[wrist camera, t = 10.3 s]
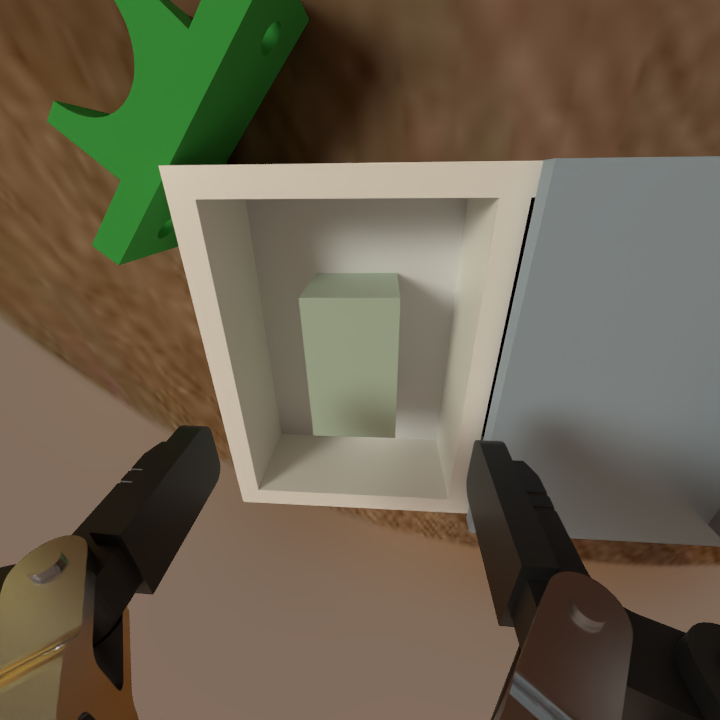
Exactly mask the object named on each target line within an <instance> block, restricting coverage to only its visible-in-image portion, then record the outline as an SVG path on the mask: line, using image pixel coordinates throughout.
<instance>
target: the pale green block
mask: <svg viewBox="0 0 720 720" xmlns="http://www.w3.org/2000/svg"><path fill="white" fill-rule="evenodd" d="M298 299H299V308H300V317H301V326H302V335H303V344H304V353H305V362H306V371H307V380H308V389H309V398H310V407H311V416H312V425H313V434H314V436H345V437H380V438H395V429H396V403H397V376H398V350H399V323H400V291H399V283H398V275H397V273H317V274H316V275H315V276H314V278H313V279H312V280H311V282H310V283H309V284H308V286H307V287H306V288H305V290H304V291H303V292H302V294H301V295H300V296H299V298H298Z"/></svg>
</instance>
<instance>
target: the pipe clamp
mask: <svg viewBox="0 0 720 720" xmlns="http://www.w3.org/2000/svg"><path fill="white" fill-rule="evenodd" d="M114 1H115V2H116V4H117V6H118V8H119V10H120V12H121V13H122V15H123V18H124V20H125V23H126V25H127V28H128V31H129V34H130V37H131V41H132V46H133V51H134V62H135V71H134V80H133V85H132V88H131V91H130V94H129V96H128V98H127V100H126V101H125V103H124V104H123V105H122V106H121V107H120V108H119V109H118V110H117V111H116V112H114V113H112V114H108V113H104V112H100V111H96V110H92V109H87V108H83V107H79V106H75V105H71V104H67V103H63V102H58V101H54V102H53V105H52V108H51V111H50V114H49V117H48V121H47V122H48V123H50V124H51V125H52V126H53V127H55V128H56V129H57V130H58V131H60V132H61V133H62V134H63V135H65V136H66V137H67V138H68V139H70V140H71V141H72V142H73V143H75V144H76V145H77V146H78V147H80V148H81V149H82V150H83V151H85V152H86V153H87V154H88V155H90V156H91V157H92V158H93V159H95V160H96V161H97V162H98V163H100V164H101V165H102V166H103V167H105V168H106V169H107V170H108V171H110V172H111V173H112V174H113V175H115V176H116V177H117V178H118V179H120V180H121V181H120V183H119V186H118V188H117V190H116V192H115V195H114V197H113V199H112V201H111V204H110V206H109V208H108V210H107V213H106V215H105V217H104V219H103V222H102V224H101V226H100V228H99V231H98V233H97V235H96V237H95V239H94V242H93V244H92V246H93V247H95V248H96V249H97V250H99V251H100V252H101V253H103V254H104V255H106V256H107V257H108V258H110V259H111V260H112V261H114V262H115V263H117V264H118V265H121V264H124V263H127V262H130V261H133V260H137V259H140V258H143V257H146V256H149V255H152V254H155V253H159V252H162V251H165V250H168V249H171V248H174V247H177V246H178V242H177V238H176V234H175V230H174V226H173V222H172V218H171V214H170V210H169V206H168V202H167V198H166V194H165V190H164V186H163V182H162V178H161V175H160V171H159V167H158V165H226V163H227V161H228V159H229V158H230V156H231V154H232V153H233V151H234V149H235V147H236V146H237V144H238V142H239V140H240V139H241V137H242V135H243V134H244V132H245V130H246V128H247V127H248V125H249V123H250V122H251V120H252V118H253V116H254V115H255V113H256V111H257V109H258V108H259V106H260V104H261V103H262V101H263V99H264V97H265V96H266V94H267V92H268V91H269V89H270V87H271V85H272V84H273V82H274V80H275V78H276V77H277V75H278V73H279V72H280V70H281V68H282V66H283V65H284V63H285V61H286V59H287V58H288V56H289V54H290V53H291V51H292V49H293V47H294V46H295V44H296V42H297V41H298V39H299V37H300V35H301V34H302V32H303V30H304V28H305V27H306V25H307V23H308V22H309V18H308V16H307V14H306V12H305V9H304V7H303V5H302V3H301V1H300V0H201V2H200V4H199V7H198V9H197V11H196V13H195V16H194V18H193V20H192V19H191V18H190V17H189V16H188V15H187V14H185V13H184V12H183V11H182V10H181V9H179V8H178V7H177V6H176V5H175V4H173V3H172V2H171V1H170V0H114Z"/></svg>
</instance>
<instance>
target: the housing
mask: <svg viewBox="0 0 720 720" xmlns="http://www.w3.org/2000/svg"><path fill="white" fill-rule="evenodd" d="M542 165H543V161H477V162H397V163H317V164H237V165H158V167H159V171H160V175H161V178H162V182H163V186H164V190H165V194H166V198H167V202H168V206H169V210H170V214H171V218H172V222H173V226H174V230H175V234H176V238H177V242H178V246H179V250H180V254H181V257H182V261H183V265H184V269H185V273H186V277H187V281H188V285H189V289H190V293H191V297H192V301H193V305H194V309H195V313H196V317H197V321H198V325H199V329H200V333H201V336H202V340H203V344H204V348H205V352H206V356H207V360H208V364H209V368H210V372H211V376H212V380H213V384H214V388H215V392H216V396H217V400H218V404H219V408H220V412H221V415H222V419H223V423H224V427H225V431H226V435H227V439H228V443H229V447H230V451H231V455H232V459H233V463H234V467H235V471H236V475H237V479H238V483H239V487H240V491H241V494H242V498H243V501H244V502H259V503H278V504H279V503H280V504H298V505H317V506H336V507H355V508H374V509H393V510H412V511H432V512H451V513H468V508H469V502H468V497H467V488H466V482H467V474H468V469H469V464H470V459H471V455H472V450H473V445H474V442H475V441H476V440H483V438H484V436H481V435H482V431H483V426H484V421H485V416H486V412H487V407H488V402H489V397H490V393H491V388H492V383H493V378H494V374H495V369H496V364H497V359H498V355H499V350H500V345H501V341H502V336H503V331H504V326H505V322H506V317H507V312H508V307H509V303H510V298H511V293H512V288H513V284H514V279H515V274H516V269H517V265H518V260H519V255H520V250H521V246H522V241H523V236H524V232H525V227H526V222H527V217H528V213H529V208H530V203H531V198H533V197H536V193H537V188H538V184H539V179H540V174H541V170H542ZM317 273H397V275H398V283H399V291H400V323H399V350H398V376H397V403H396V429H395V438H380V437H345V436H314V434H313V425H312V416H311V407H310V398H309V389H308V380H307V371H306V362H305V353H304V344H303V335H302V326H301V317H300V308H299V299H298V298H299V296H300V295H301V294H302V292H303V291H304V290H305V288H306V287H307V286H308V284H309V283H310V282H311V280H312V279H313V278H314V276H315V275H316V274H317Z"/></svg>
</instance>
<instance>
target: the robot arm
mask: <svg viewBox="0 0 720 720" xmlns="http://www.w3.org/2000/svg"><path fill="white" fill-rule="evenodd" d="M219 474H220V461H219V457H218V454H217V450H216V447H215V443H214V440H213V436H212V432H211V430H210V428H209V427H206V426H186V425H183V426H180V427H179V428H178V429H177V430H176V431H175V432H174V433H173V434H172V436H171V437H170V438H169V439H168V440H167V441H166V442H161V443H159V444H158V445H156V446H155V447H153V448H152V449H151V450H149V451H148V452H146V453H145V454H144V455H143V456H142V457H141V458H140V459H139V460H138V461H137V463H136V464H135V465H134V466H133V467H132V470H131V471H128V473H127V474H126V475H125V476H124V477H123V478H122V479H121V483H118V484H117V485H116V486H115V487H114V488H113V489H112V491H111V492H110V493H109V494H108V495H107V496H106V497H105V498H104V499H103V501H102V502H101V503H100V504H99V505H98V506H97V507H96V508H95V510H94V511H93V512H92V513H91V514H90V515H89V516H88V517H87V518H86V520H85V521H84V522H83V523H82V524H81V525H80V526H79V527H78V529H77V530H76V531H75V532H74V533H73V534H72V535H69V536H62V537H59V538H55V539H53V540H50V541H48V542H46V543H44V544H42V545H40V546H39V547H37V548H36V549H34V550H32V551H31V552H30V553H28V554H27V555H26V556H25V557H23V558H22V559H21V560H20V561H19V562H18V563H17V564H14V565H10V566H6V567H1V568H0V720H139V719H138V715H137V712H136V709H135V706H134V702H133V697H132V686H131V685H132V684H131V653H130V652H131V651H130V619H129V609H128V607H127V605H128V603H129V602H130V600H131V598H132V597H133V595H134V594H135V593H142V594H153V593H154V592H155V590H156V589H157V587H158V585H159V583H160V582H161V580H162V578H163V576H164V574H165V573H166V571H167V569H168V567H169V566H170V564H171V562H172V560H173V559H174V557H175V555H176V553H177V552H178V550H179V548H180V546H181V545H182V543H183V541H184V539H185V538H186V536H187V534H188V532H189V531H190V529H191V527H192V525H193V524H194V522H195V520H196V518H197V517H198V515H199V513H200V511H201V510H202V508H203V506H204V504H205V503H206V501H207V499H208V497H209V496H210V494H211V492H212V490H213V489H214V487H215V485H216V483H217V481H218V478H219ZM466 488H467V497H468V502H469V506H470V510H471V514H472V518H473V522H474V526H475V530H476V534H477V538H478V543H479V547H480V551H481V554H482V558H483V562H484V566H485V570H486V575H487V579H488V583H489V587H490V591H491V595H492V599H493V603H494V607H495V611H496V615H497V619H498V624H499V626H508V627H514V628H515V631H516V635H517V638H518V642H519V647H518V649H517V652H516V654H515V657H514V659H513V662H512V665H511V667H510V670H509V673H508V675H507V678H506V680H505V683H504V686H503V688H502V691H501V694H500V696H499V699H498V702H497V704H496V707H495V709H494V712H493V714H492V717H491V720H720V625H718V624H714V623H705V622H703V623H698V624H696V625H693V626H692V627H691V628H690V630H689V631H688V632H687V633H685V632H682V631H679V630H677V629H674V628H672V627H669V626H666V625H664V624H661V623H659V622H656V621H653V620H651V619H648V618H646V617H643V616H640V615H638V614H636V613H634V612H631V611H630V610H628V609H626V608H624V607H623V606H622V605H621V603H620V602H619V601H618V600H617V598H616V597H615V596H614V595H613V594H612V593H611V592H610V591H609V590H608V589H607V588H605V587H604V586H603V585H601V584H600V583H599V582H597V581H595V580H594V579H592V578H591V577H590V575H589V574H588V572H587V570H586V569H585V567H584V565H583V563H582V561H581V559H580V557H579V555H578V553H577V551H576V549H575V547H574V545H573V543H572V541H571V539H570V537H569V535H568V533H567V531H566V529H565V527H564V525H563V523H562V521H561V519H560V517H559V515H558V513H557V511H555V510H554V505H553V503H552V501H551V499H550V497H549V496H547V492H546V490H545V488H544V486H543V484H542V482H541V480H540V478H539V476H538V475H537V474H536V473H535V472H534V471H533V470H532V469H531V468H530V467H529V466H528V465H527V464H526V463H525V462H524V461H516V460H512V458H511V456H510V453H509V451H508V449H507V447H506V445H505V443H504V442H503V441H487V440H476V441H475V442H474V445H473V450H472V455H471V459H470V464H469V469H468V474H467V482H466Z"/></svg>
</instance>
